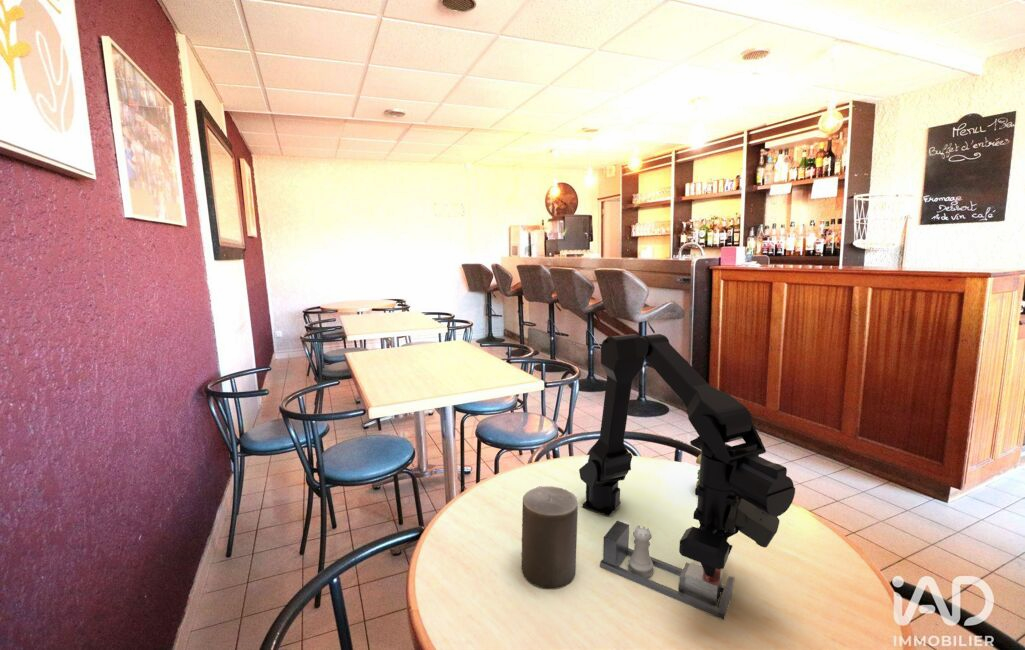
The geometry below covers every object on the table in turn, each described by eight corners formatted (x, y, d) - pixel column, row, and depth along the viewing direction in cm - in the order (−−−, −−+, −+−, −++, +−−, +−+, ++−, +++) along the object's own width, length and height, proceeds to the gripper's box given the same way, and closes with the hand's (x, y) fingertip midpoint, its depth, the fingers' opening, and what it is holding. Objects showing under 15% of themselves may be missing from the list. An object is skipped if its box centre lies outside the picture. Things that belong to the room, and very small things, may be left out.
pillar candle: (539, 597, 78) (540, 514, 75) (512, 561, 86) (512, 486, 83) (587, 578, 82) (590, 499, 79) (556, 545, 91) (558, 474, 88)
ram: (678, 594, 78) (681, 542, 76) (685, 579, 81) (688, 529, 79) (715, 609, 74) (719, 555, 73) (721, 594, 78) (725, 542, 76)
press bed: (600, 567, 85) (600, 537, 83) (614, 547, 90) (615, 519, 89) (723, 619, 73) (726, 585, 72) (732, 593, 78) (735, 561, 77)
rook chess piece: (624, 562, 86) (625, 523, 84) (648, 561, 86) (650, 521, 84) (632, 580, 81) (634, 538, 80) (657, 578, 82) (659, 537, 80)
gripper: (768, 530, 61) (758, 633, 64) (785, 471, 76) (776, 557, 79) (681, 502, 67) (675, 598, 70) (712, 454, 82) (706, 534, 85)
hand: (711, 570), depth 76 cm, fingers closed on ram, 3 cm apart
